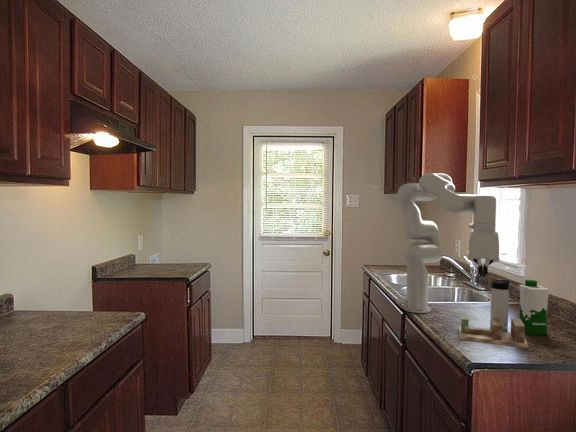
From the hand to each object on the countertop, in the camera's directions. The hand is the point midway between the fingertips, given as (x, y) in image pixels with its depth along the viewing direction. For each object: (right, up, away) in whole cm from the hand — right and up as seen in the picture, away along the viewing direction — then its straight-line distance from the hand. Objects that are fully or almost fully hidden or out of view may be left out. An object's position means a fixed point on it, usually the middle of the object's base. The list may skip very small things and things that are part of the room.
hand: (482, 276), depth 148 cm
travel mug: (+12, -23, +10) cm, 28 cm away
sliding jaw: (0, -22, +1) cm, 22 cm away
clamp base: (+3, -23, -1) cm, 23 cm away
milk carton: (+23, -23, +7) cm, 34 cm away
